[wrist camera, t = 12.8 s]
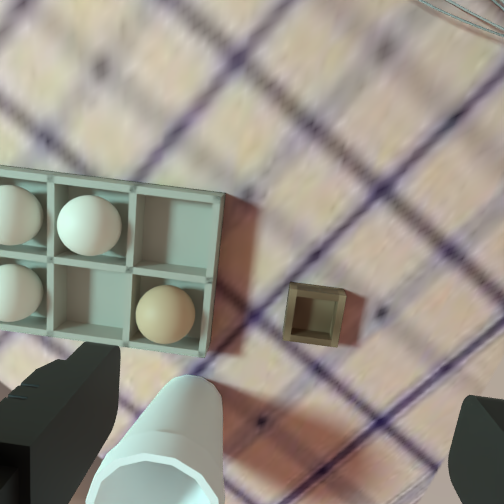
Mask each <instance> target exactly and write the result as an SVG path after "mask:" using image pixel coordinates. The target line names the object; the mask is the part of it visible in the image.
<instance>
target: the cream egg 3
mask: <svg viewBox="0 0 504 504" xmlns="http://www.w3.org/2000/svg"><path fill="white" fill-rule="evenodd" d="M57 230H58V234H59V237H60V239H61V241H62V242H63V243H64V245H65V246H66V247H67V248H69V249H70V250H71V251H73V252H75V253H77V254H80V255H85V256H96V255H100V254H103V253H105V252H107V251H109V250H110V249H111V248H112V247H114V246H115V244H116V243H117V241H118V240H119V238H120V235H121V231H122V221H121V217H120V215H119V212H118V211H117V209H116V208H115V207H114V206H113V205H112V204H111V203H110V202H109V201H107V200H106V199H104V198H101V197H98V196H94V195H84V196H79V197H76V198H74V199H72V200H70V201H69V202H68V203H67V204H66V205H65V206H64V207H63V208H62V210H61V211H60V213H59V216H58V220H57Z"/></svg>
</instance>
